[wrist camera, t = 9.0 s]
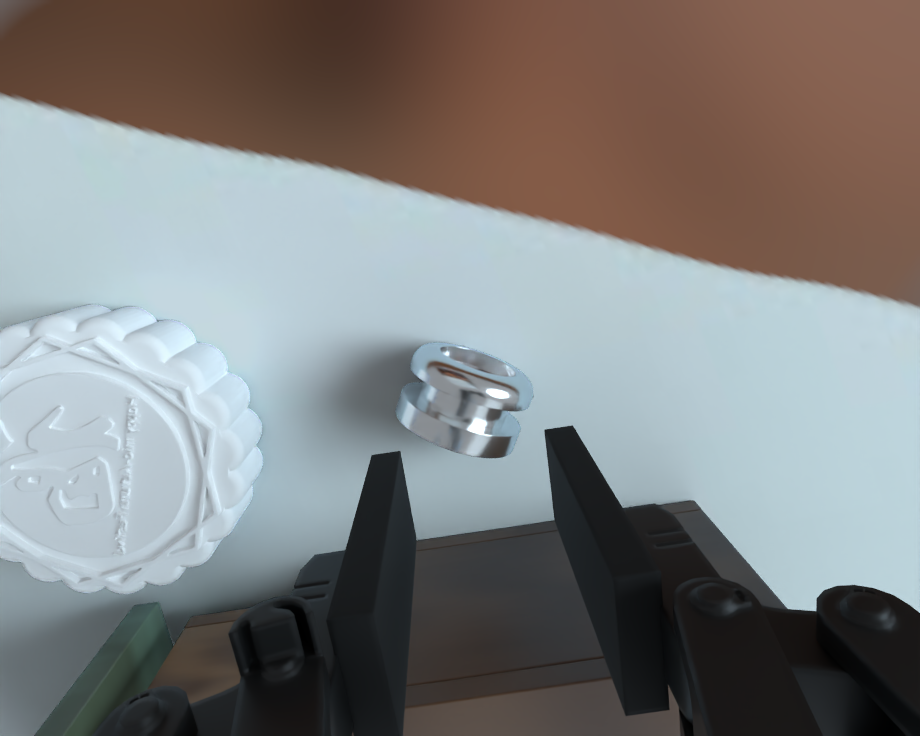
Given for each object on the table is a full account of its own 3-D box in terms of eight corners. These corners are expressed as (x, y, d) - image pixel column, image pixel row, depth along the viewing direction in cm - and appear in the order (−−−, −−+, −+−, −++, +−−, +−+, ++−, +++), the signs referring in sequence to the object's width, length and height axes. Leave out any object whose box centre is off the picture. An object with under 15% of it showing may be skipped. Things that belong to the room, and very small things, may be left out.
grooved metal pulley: (399, 391, 26) (390, 432, 22) (419, 328, 26) (414, 356, 21) (505, 423, 27) (520, 471, 22) (528, 363, 26) (548, 398, 21)
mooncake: (-10, 274, 24) (-84, 286, 21) (284, 334, 26) (259, 354, 22) (-15, 532, 27) (-81, 578, 24) (248, 576, 28) (221, 627, 25)
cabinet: (408, 759, 32) (394, 995, 22) (363, 548, 28) (324, 719, 19) (704, 717, 32) (817, 935, 22) (694, 499, 28) (822, 647, 19)
